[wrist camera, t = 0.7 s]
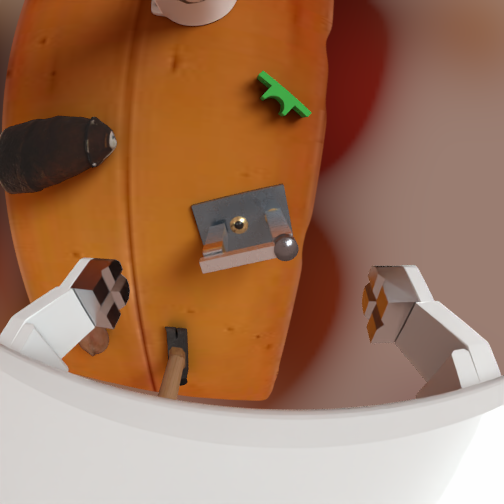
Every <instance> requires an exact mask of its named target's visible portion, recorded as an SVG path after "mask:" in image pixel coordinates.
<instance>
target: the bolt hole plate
mask: <svg viewBox="0 0 504 504" xmlns="http://www.w3.org/2000/svg"><path fill="white" fill-rule="evenodd" d="M276 209H281V211H282V213H283V215H284V217H285V219H286V221H287V224H288V226H289V228H290V230H291V232H292V228H291V222H290V217H289V211H288V206H287V201H286V195H285V190H284V185H283V184H279V185H274V186H269V187H265V188H260V189H255V190H251V191H247V192H242V193H238V194H234V195H229V196H225V197H221V198H217V199H213V200H209V201H205V202H201V203H197V204H193V205H192V210H193V213H194V216H195V220H196V223H197V226H198V229H199V232H200V236H201V239H202V242H203V245H205V242H206V238H207V234H208V230H209V227H211V226H215V225H219V224H223V223H225V227H226V230H227V234H228V250H227V252H228V251H233V250H237V249H242V248H246V247H251V246H255V245H260V244H264V243H269V242H273V241H272V238H271V234H270V231H269V227H268V223H267V219H266V214H265V212H266V211H271V210H276ZM292 235H293V234H292Z"/></svg>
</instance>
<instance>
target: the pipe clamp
mask: <svg viewBox="0 0 504 504" xmlns="http://www.w3.org/2000/svg"><path fill="white" fill-rule="evenodd" d="M257 79H258V80H259V81H260V82H261V83H263V84H264V85H265V86H266V87H268V88H269V89H268V90H267V91H266V92H265V93H264V94H263V95H262V97H261V98H260V99H261V100H262V101H264V100H265V99H267V98H274V99H276V100H277V101H278V102H279V103H280V106H281V109H280V112H279V113H278V114H279V115H280V116H285V115H286V114H287V113H288V112H289V111H290V110H291V109H293V110H294V111H295V112H297V113H298V114H299V115H300V116H301V117H308V116H309V115H310V114H311V113H312V112H310V111H309V110H308V109H307V108H306V107H305V106H304V105H303V104H302V103H301V102H300V101H299V100H297V99H296V98H295V97H294V96H293V95H292V94H291V93H289V92H288V91H287V90H286V89H285V88H284V87H282V86H281V85H280V84H279V83H278V82H277V81H275V80H274V79H273V78H272V77H270V76H269V75H268V74H267V73H265V72H264V71H262V72H261V73H260V74H259V75H258V78H257Z"/></svg>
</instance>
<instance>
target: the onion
mask: <svg viewBox="0 0 504 504" xmlns="http://www.w3.org/2000/svg"><path fill="white" fill-rule="evenodd" d="M108 343H109V336H108V333H107V331H106V329H105V328H103V327H97V326H95V328H94V329H93V330H92V331H91V332H89V333H88V334H87V335H86V336H85V337H84V338H83V339H82V340H81V341H80V342H79V343H78V344H79V345H80V347H81V348H82V349H84V350H85V351H86V352H87V353H89V354H91V355H92V356H94V355H95V354H100V353H102V352H103V351H104V350H105V349H106V348H107V346H108Z"/></svg>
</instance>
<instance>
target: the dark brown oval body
mask: <svg viewBox="0 0 504 504" xmlns="http://www.w3.org/2000/svg"><path fill="white" fill-rule="evenodd" d="M116 145H117V141H116V138H115V136H114V133H113V131H112V130H111V129H110V128H109V127H108V126H107V125H105V124H104V123H103V122H101V121H100V120H99V119H98V118H96V117H92V118H91V119H88V118H84V117H68V116H55V117H53V118H48V119H36V120H31V121H28V122H25V123H22V124H18V125H15V126H11V127H9V128H6V129H5V130H4V131H3V132H2V133H1V135H0V183H1V185H2V187H3V188H4V190H5V191H6V192H8V193H10V194H17V193H33V192H38V191H41V190H43V189H44V188H46V187H49V186H52V185H55V184H58V183H61V182H62V181H64V180H66V179H68V178H71V177H73V176H76V175H78V174H80V173H81V172H83V171H85V170H87V169H89V168H90V167H92V168H93V167H97V166H99V165H100V164H101V163H102V162H103V161H104V159H105V158H107V157H108V156H109V155H110V154H111V153H112V152H113V151H114V149H115V148H116Z"/></svg>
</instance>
